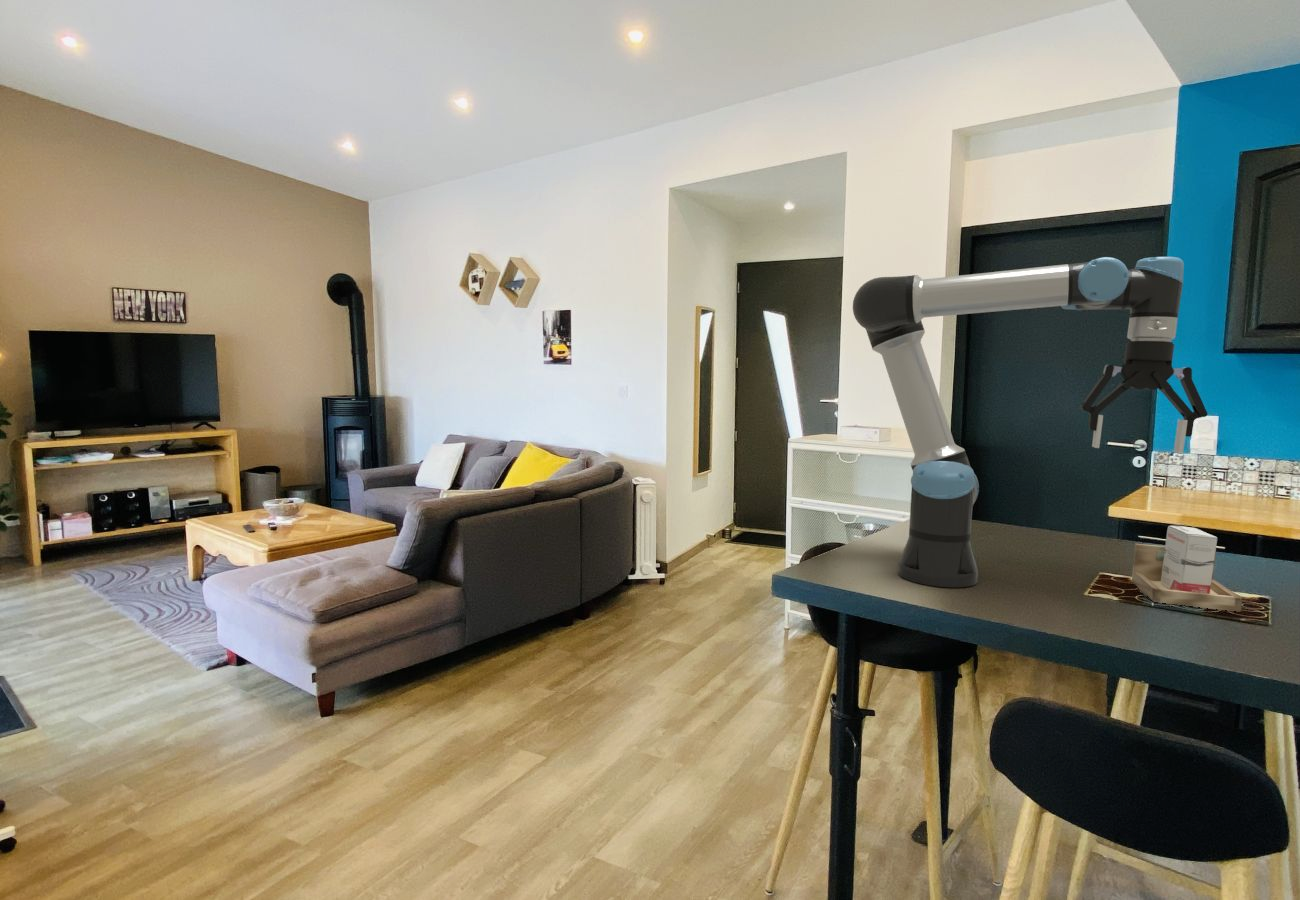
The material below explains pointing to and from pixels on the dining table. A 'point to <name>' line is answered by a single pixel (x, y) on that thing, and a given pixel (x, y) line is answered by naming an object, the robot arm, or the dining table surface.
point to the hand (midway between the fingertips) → (1136, 450)
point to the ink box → (1188, 559)
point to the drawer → (1149, 583)
